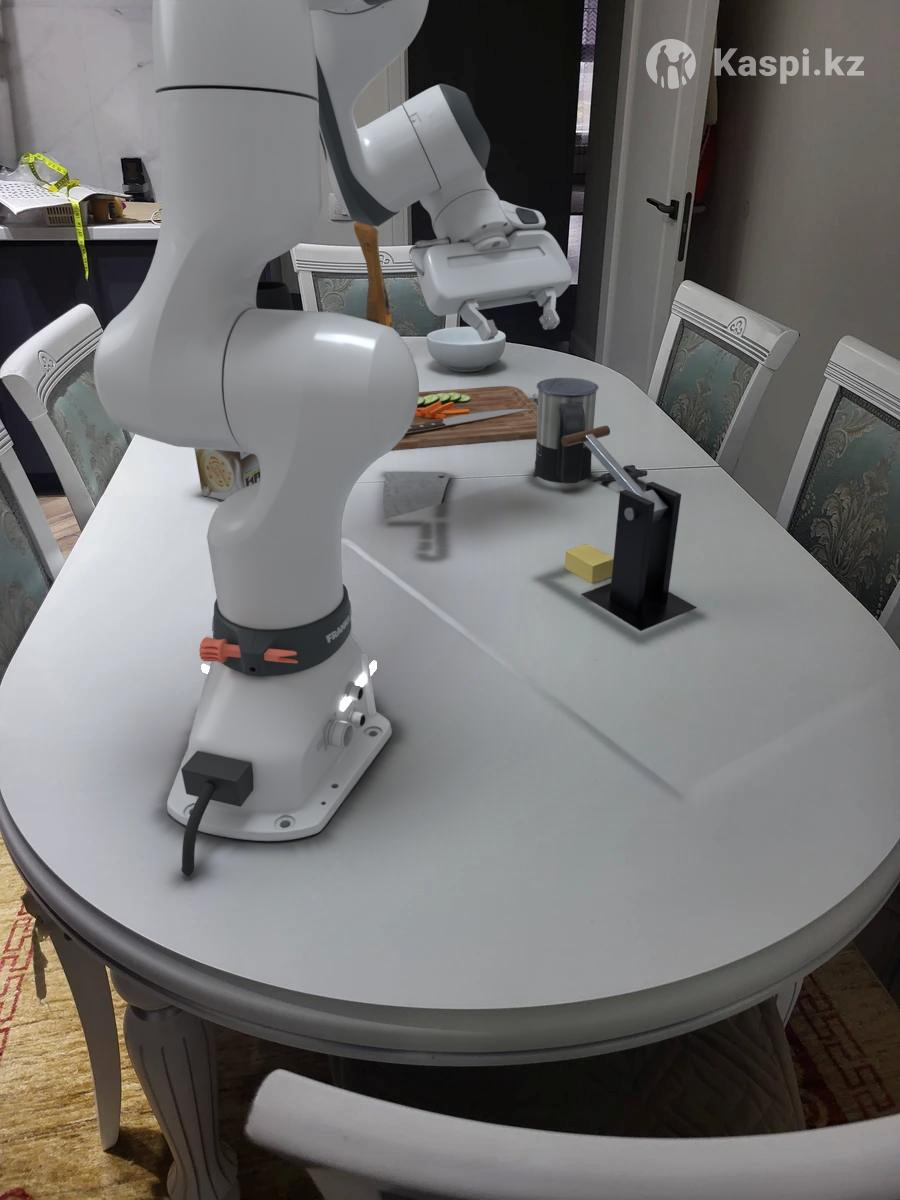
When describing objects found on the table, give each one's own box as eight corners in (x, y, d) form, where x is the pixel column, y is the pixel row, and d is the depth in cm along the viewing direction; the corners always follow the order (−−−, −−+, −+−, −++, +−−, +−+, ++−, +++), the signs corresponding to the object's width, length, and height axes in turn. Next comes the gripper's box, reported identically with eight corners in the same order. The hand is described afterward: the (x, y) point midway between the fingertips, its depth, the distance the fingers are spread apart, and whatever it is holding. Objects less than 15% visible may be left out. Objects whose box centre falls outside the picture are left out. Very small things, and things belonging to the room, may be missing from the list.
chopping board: (528, 390, 179) (529, 375, 177) (572, 434, 156) (573, 417, 154) (303, 407, 171) (301, 391, 169) (314, 456, 148) (312, 438, 146)
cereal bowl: (513, 360, 198) (514, 328, 195) (493, 381, 185) (494, 346, 181) (441, 354, 203) (440, 323, 199) (416, 374, 189) (415, 341, 186)
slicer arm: (558, 445, 103) (564, 430, 101) (600, 434, 106) (607, 419, 104) (630, 531, 96) (639, 516, 95) (673, 516, 100) (682, 502, 98)
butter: (564, 569, 111) (565, 550, 110) (585, 561, 113) (587, 543, 111) (591, 585, 107) (592, 566, 106) (612, 577, 109) (614, 558, 108)
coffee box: (274, 491, 135) (262, 387, 127) (247, 506, 131) (233, 399, 123) (227, 481, 139) (212, 379, 131) (199, 495, 134) (182, 391, 126)
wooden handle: (369, 364, 197) (362, 228, 183) (360, 343, 213) (352, 216, 199) (399, 362, 198) (394, 226, 184) (388, 341, 214) (382, 215, 200)
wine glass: (240, 392, 179) (226, 289, 169) (263, 378, 188) (252, 279, 178) (286, 396, 177) (276, 292, 167) (309, 382, 185) (299, 281, 175)
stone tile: (370, 558, 116) (446, 557, 116) (369, 554, 116) (446, 554, 115) (386, 473, 141) (449, 473, 141) (386, 470, 141) (449, 470, 141)
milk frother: (523, 471, 141) (526, 379, 134) (611, 459, 146) (619, 369, 138) (561, 506, 130) (567, 407, 122) (656, 491, 134) (668, 395, 127)
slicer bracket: (579, 602, 106) (588, 487, 98) (635, 581, 110) (647, 469, 103) (639, 640, 99) (654, 518, 91) (696, 616, 103) (714, 498, 95)
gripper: (413, 225, 102) (461, 328, 99) (552, 211, 111) (599, 305, 109) (394, 260, 107) (440, 359, 105) (528, 244, 117) (572, 334, 115)
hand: (522, 331), depth 107 cm, fingers open, 8 cm apart
